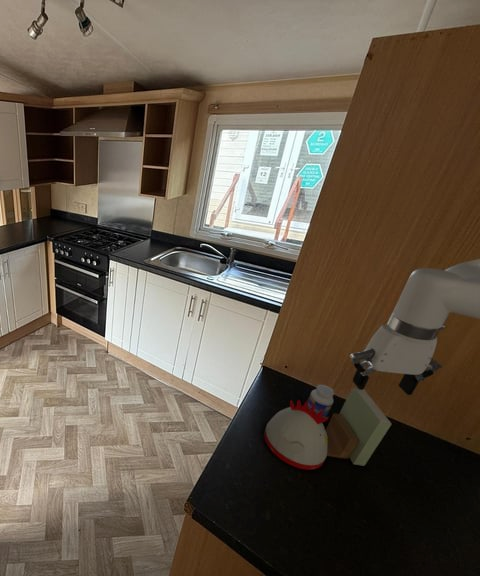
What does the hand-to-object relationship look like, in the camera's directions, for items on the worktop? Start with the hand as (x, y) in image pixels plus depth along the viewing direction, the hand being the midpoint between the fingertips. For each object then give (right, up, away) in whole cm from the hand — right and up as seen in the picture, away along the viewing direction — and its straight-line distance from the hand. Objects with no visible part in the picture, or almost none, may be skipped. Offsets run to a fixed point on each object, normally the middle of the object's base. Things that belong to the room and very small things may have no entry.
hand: (380, 388), depth 73 cm
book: (+1, -11, +6) cm, 13 cm away
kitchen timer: (-14, -18, +10) cm, 25 cm away
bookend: (-4, -18, +10) cm, 21 cm away
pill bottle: (-2, -14, +19) cm, 23 cm away
